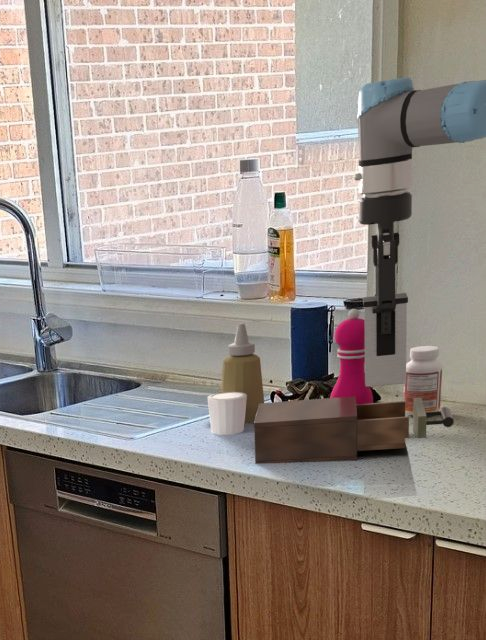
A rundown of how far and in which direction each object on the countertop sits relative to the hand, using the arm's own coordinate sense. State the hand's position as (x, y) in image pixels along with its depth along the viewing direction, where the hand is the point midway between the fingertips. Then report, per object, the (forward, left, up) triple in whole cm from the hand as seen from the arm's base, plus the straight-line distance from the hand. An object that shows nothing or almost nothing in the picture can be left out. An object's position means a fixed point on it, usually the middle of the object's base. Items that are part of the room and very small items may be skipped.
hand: (385, 351), depth 191 cm
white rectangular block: (0, 0, -5) cm, 5 cm away
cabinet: (+12, 0, -15) cm, 20 cm away
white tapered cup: (+26, -16, -15) cm, 34 cm away
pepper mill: (+5, -15, -15) cm, 22 cm away
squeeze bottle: (+24, -24, -15) cm, 37 cm away
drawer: (-1, 0, -14) cm, 14 cm away
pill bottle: (-7, -23, -16) cm, 29 cm away
